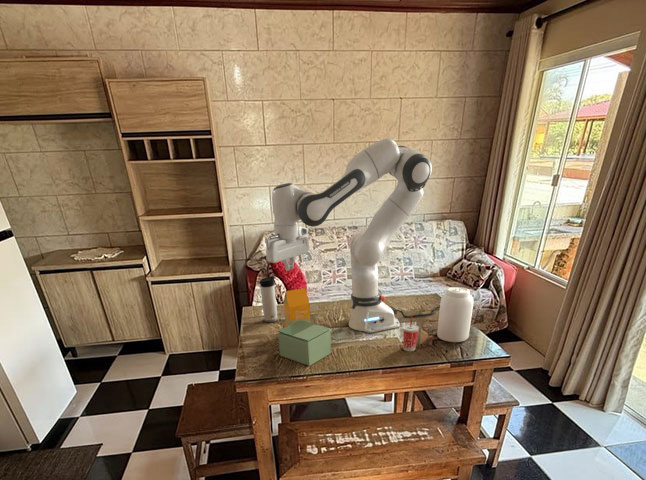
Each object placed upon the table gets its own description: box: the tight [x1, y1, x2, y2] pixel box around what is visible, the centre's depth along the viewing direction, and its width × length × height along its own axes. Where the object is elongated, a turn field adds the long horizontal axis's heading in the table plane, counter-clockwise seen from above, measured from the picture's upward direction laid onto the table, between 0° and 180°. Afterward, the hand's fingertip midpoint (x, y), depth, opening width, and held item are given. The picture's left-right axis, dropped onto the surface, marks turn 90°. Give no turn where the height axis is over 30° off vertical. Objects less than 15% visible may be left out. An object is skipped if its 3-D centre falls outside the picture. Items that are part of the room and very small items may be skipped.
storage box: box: [277, 323, 332, 367], centre depth 155 cm, size 15×13×10 cm
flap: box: [277, 320, 315, 336], centre depth 155 cm, size 7×13×1 cm, turn 141°
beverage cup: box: [402, 314, 420, 352], centre depth 155 cm, size 6×6×14 cm
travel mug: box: [259, 276, 279, 323], centre depth 185 cm, size 6×7×20 cm
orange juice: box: [283, 287, 312, 327], centre depth 169 cm, size 8×9×20 cm
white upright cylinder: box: [436, 286, 475, 343], centre depth 162 cm, size 12×12×20 cm
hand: (289, 269), depth 157 cm, fingers closed
